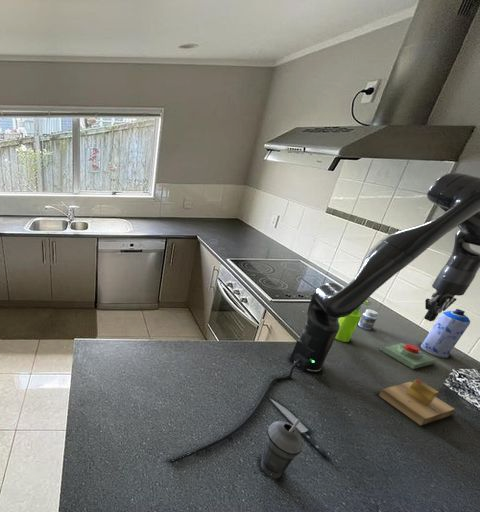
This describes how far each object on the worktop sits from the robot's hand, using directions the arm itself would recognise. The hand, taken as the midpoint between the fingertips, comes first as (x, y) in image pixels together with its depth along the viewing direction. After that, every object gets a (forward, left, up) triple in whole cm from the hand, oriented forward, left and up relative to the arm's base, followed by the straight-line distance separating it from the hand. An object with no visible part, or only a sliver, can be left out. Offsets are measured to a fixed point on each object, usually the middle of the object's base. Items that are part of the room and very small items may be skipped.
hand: (428, 319), depth 105 cm
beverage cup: (-88, -20, -18) cm, 92 cm away
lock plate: (-26, -16, -18) cm, 36 cm away
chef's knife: (-70, -12, -19) cm, 73 cm away
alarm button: (0, 0, -15) cm, 15 cm away
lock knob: (-26, -16, -15) cm, 34 cm away
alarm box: (0, 0, -18) cm, 18 cm away
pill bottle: (+6, +19, -18) cm, 27 cm away
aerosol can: (+17, 0, -18) cm, 25 cm away
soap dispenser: (-14, +15, -18) cm, 27 cm away
